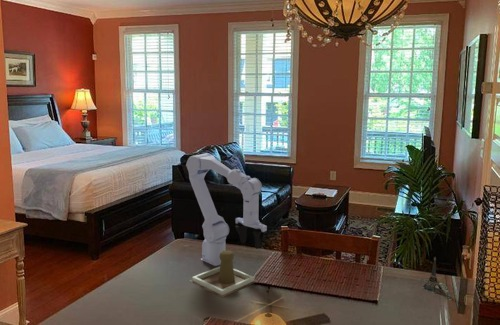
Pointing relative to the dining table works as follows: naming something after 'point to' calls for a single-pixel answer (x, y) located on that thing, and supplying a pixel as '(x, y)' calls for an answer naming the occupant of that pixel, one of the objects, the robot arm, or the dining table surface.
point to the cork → (226, 267)
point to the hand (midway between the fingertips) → (250, 245)
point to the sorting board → (214, 281)
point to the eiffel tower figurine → (435, 283)
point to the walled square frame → (223, 291)
